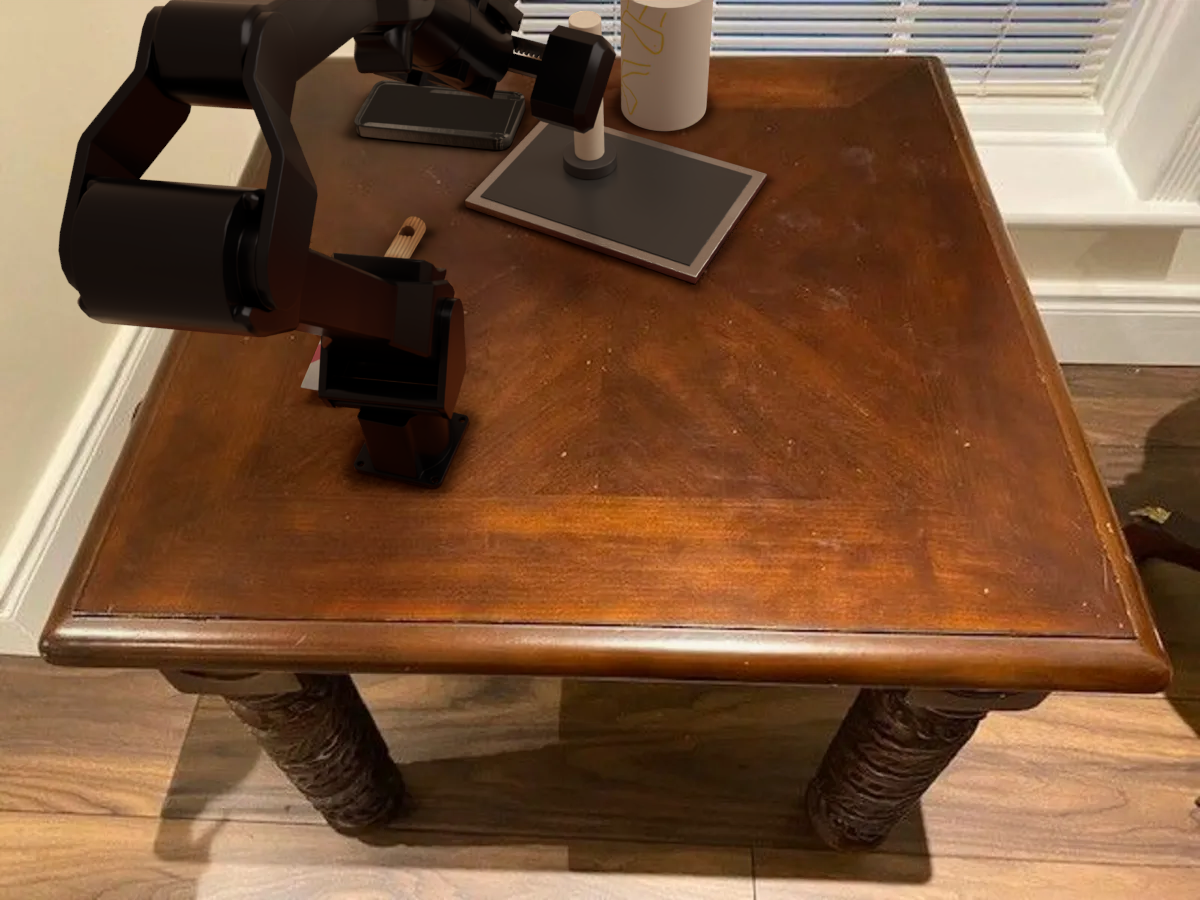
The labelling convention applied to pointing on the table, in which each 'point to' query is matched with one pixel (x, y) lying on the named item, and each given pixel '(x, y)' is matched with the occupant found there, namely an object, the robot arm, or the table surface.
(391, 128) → the phone
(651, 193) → the tablet
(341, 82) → the table surface
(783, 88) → the table surface
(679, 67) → the cup
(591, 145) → the peg on round base
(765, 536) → the table surface
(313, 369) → the paintbrush
